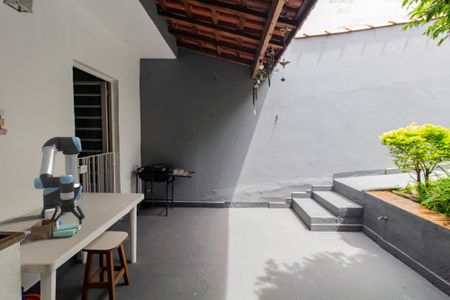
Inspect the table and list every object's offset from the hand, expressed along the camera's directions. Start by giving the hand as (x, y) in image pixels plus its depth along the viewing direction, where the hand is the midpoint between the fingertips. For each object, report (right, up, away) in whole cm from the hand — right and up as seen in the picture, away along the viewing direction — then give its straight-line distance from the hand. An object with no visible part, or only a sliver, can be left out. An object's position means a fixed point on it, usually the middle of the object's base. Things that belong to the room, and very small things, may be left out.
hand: (68, 230), depth 158 cm
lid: (0, -2, 0) cm, 2 cm away
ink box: (-20, -1, +13) cm, 24 cm away
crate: (-13, -2, -3) cm, 14 cm away
